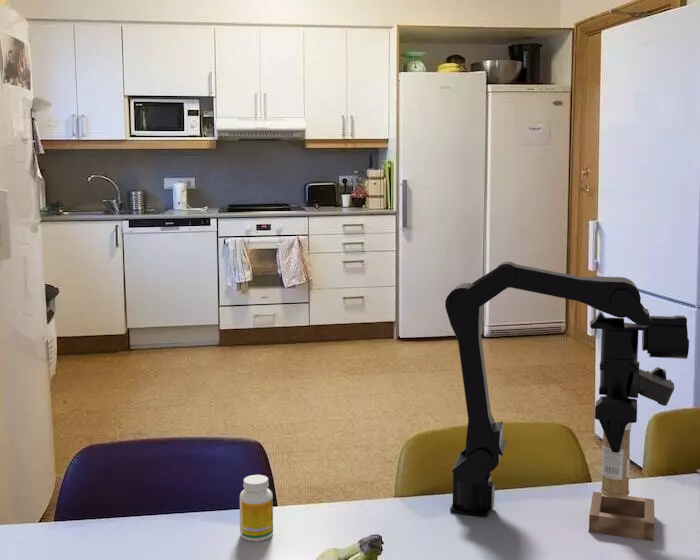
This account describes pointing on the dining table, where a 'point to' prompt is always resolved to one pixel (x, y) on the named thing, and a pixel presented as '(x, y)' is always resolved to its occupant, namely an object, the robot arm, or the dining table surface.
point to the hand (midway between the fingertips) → (616, 447)
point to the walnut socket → (622, 516)
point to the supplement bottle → (256, 509)
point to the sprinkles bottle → (616, 467)
